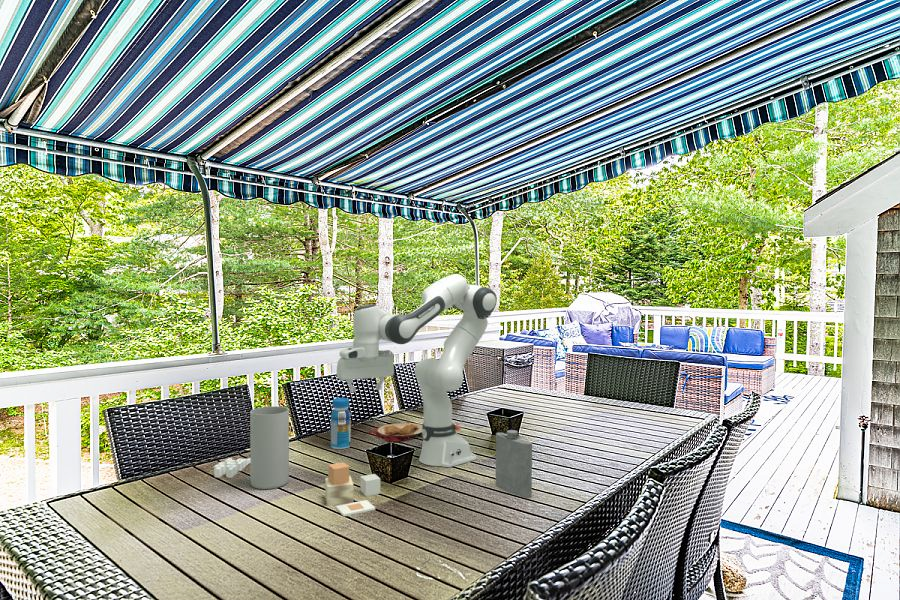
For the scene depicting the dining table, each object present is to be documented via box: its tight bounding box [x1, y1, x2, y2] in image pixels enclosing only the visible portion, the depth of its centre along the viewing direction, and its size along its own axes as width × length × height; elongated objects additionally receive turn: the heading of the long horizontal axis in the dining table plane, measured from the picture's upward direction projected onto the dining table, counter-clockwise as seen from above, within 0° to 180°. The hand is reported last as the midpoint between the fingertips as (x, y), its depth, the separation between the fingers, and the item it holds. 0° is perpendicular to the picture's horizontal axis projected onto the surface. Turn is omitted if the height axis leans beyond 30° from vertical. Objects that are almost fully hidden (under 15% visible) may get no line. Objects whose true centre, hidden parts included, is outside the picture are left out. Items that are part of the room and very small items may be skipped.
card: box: [335, 499, 376, 517], centre depth 168 cm, size 10×7×1 cm
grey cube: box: [359, 473, 381, 497], centre depth 182 cm, size 5×5×5 cm
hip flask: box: [495, 429, 533, 499], centre depth 185 cm, size 16×4×20 cm, turn 37°
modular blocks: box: [213, 457, 250, 479], centre depth 204 cm, size 20×7×4 cm, turn 177°
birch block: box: [324, 475, 354, 507], centre depth 176 cm, size 8×8×6 cm
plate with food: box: [367, 421, 423, 443], centre depth 255 cm, size 25×26×4 cm
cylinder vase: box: [249, 406, 290, 490], centre depth 189 cm, size 12×12×25 cm
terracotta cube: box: [327, 461, 350, 485], centre depth 176 cm, size 5×5×5 cm
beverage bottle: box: [330, 397, 352, 450], centre depth 232 cm, size 8×8×20 cm
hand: (365, 390), depth 193 cm, fingers open, 8 cm apart
